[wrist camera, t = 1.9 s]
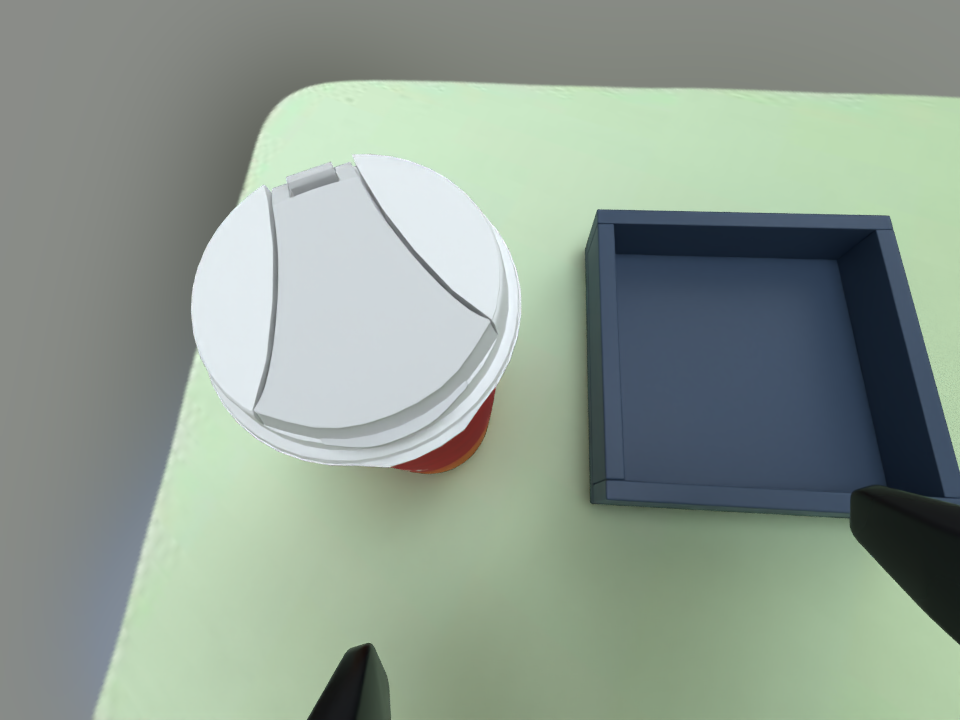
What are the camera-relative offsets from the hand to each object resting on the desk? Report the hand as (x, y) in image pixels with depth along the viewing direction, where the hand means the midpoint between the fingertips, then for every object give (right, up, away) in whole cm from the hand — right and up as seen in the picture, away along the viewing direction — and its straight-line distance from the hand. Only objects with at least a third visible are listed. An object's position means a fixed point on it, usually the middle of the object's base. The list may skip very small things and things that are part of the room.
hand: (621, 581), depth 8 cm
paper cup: (-5, +1, +15) cm, 16 cm away
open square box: (+10, +4, +15) cm, 18 cm away
